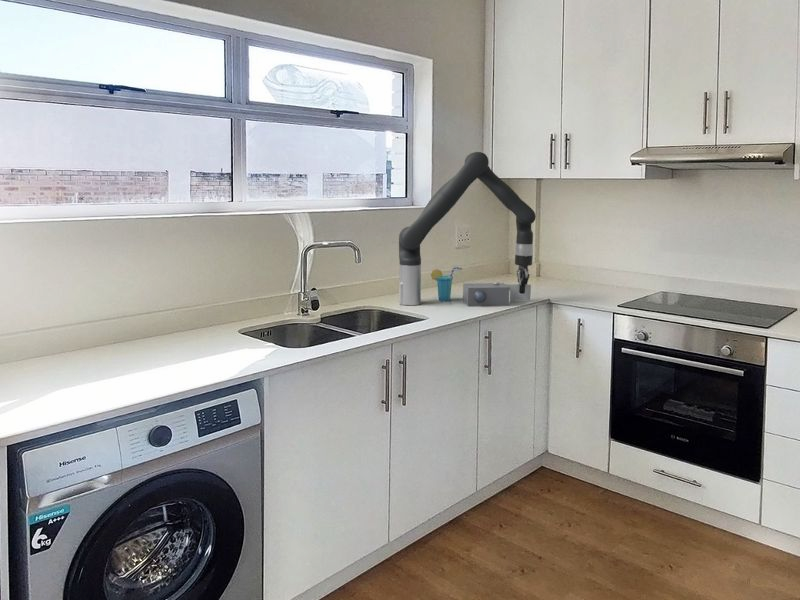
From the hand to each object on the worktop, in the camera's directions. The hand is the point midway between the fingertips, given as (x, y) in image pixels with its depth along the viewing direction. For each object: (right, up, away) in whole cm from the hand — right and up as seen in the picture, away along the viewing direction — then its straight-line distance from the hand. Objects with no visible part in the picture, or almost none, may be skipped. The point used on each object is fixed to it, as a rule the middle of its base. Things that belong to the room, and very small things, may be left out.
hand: (521, 293), depth 302 cm
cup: (-33, -3, +5) cm, 33 cm away
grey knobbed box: (-16, -4, -2) cm, 17 cm away
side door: (-2, -3, +4) cm, 5 cm away
